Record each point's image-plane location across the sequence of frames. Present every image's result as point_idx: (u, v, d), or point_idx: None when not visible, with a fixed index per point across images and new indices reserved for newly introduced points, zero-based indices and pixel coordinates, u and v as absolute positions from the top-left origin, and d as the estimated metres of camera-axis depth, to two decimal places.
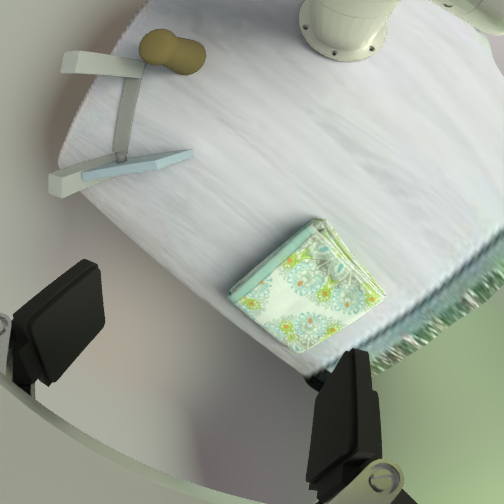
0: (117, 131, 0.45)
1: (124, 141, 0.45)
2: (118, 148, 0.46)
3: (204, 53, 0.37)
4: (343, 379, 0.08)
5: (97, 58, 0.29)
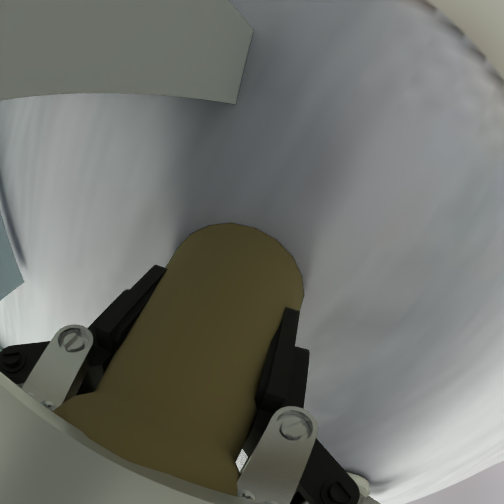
0: None
1: None
2: None
3: None
4: None
5: None
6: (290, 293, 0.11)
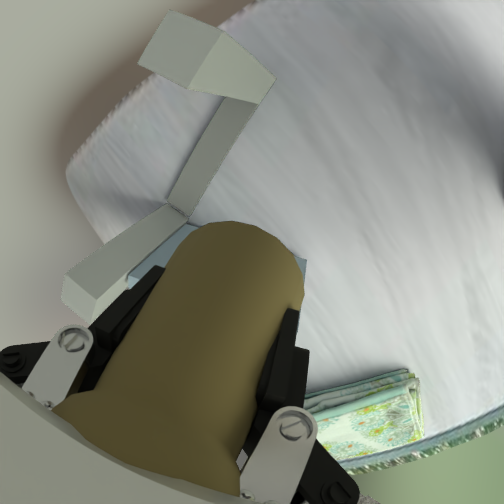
0: (185, 174, 0.29)
1: (193, 196, 0.30)
2: (179, 202, 0.30)
3: None
4: None
5: (237, 62, 0.13)
6: (291, 291, 0.11)
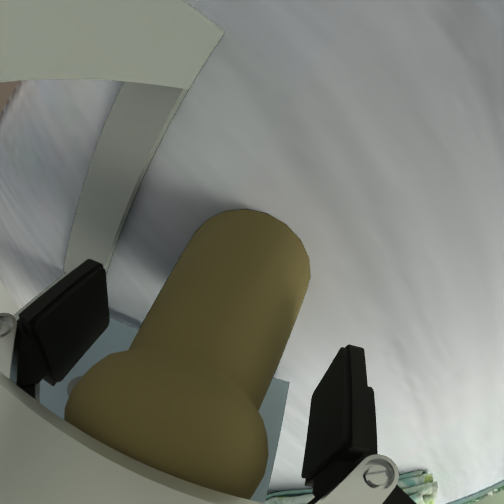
0: (77, 232, 0.15)
1: None
2: None
3: None
4: (338, 375, 0.08)
5: None
6: (299, 271, 0.12)
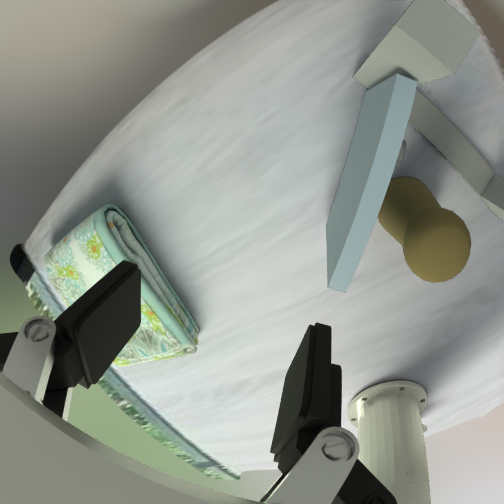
0: (430, 108, 0.21)
1: None
2: None
3: None
4: (305, 350, 0.09)
5: None
6: None
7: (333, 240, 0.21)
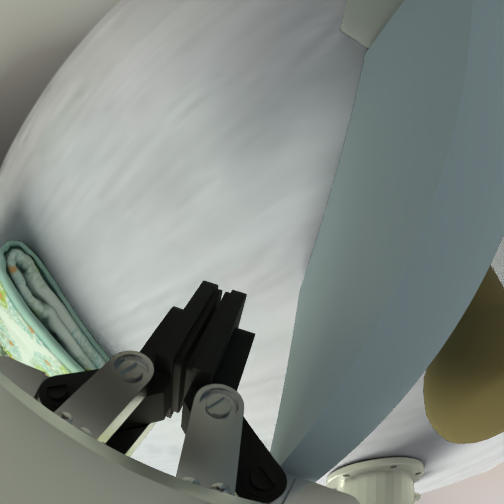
0: None
1: None
2: None
3: None
4: None
5: None
6: None
7: (294, 365, 0.10)
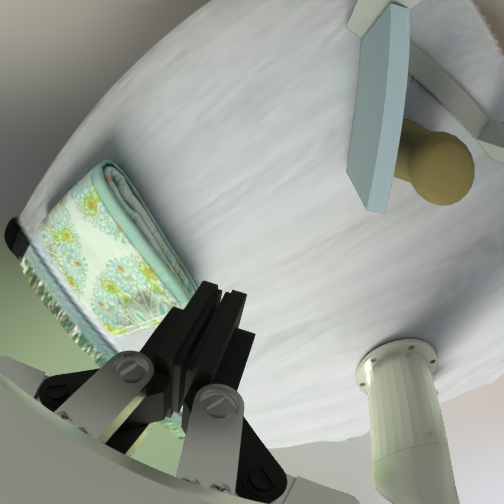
0: (421, 55, 0.20)
1: None
2: None
3: None
4: None
5: None
6: None
7: (360, 172, 0.20)
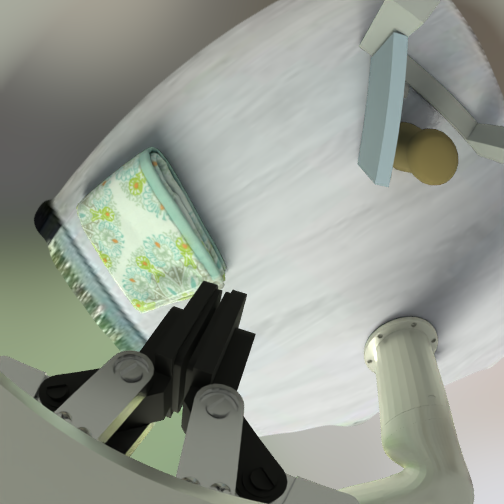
0: (420, 69, 0.25)
1: None
2: None
3: None
4: None
5: None
6: None
7: (369, 160, 0.25)
